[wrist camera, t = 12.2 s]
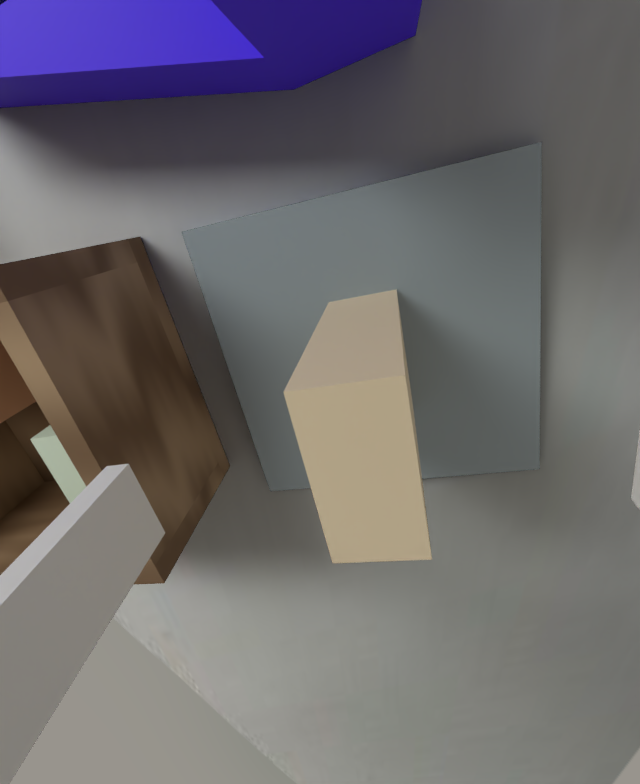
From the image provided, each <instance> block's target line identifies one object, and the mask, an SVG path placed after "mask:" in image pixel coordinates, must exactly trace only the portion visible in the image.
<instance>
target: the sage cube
mask: <svg viewBox="0 0 640 784" xmlns="http://www.w3.org/2000/svg"><path fill="white" fill-rule="evenodd" d="M30 440H31V442H32V443H33V445H34V446H35V448H36V450H37V451H38V453H39V454H40V456H41V458H42V459H43V461H44V463H45V464H46V466H47V467H48V469H49V471H50V472H51V474H52V475H53V477H54V479H55V480H56V482H57V483H58V485H59V487H60V488H61V490H62V491H63V493H64V495H65V496H66V498H67V499H68V501H69V503H71V502H72V501H73V500H74V499H75V498H76V497H77V496H78V495H79V494H80V493H81V492H82V491H83V490H84V489H85V488H86V485H85V483H84V482H83V480H82V478H81V477H80V475H79V473H78V471H77V470H76V468H75V466H74V465H73V463H72V461H71V460H70V458H69V456H68V454H67V453H66V451H65V449H64V448H63V446H62V444H61V442H60V441H59V439H58V437H57V436H56V434H55V432H54V431H53V429H52V427H51V425H49V426H48V427H47V428H45V429H44V430H42V431H41V432H39V433H38V434H37V435H35V436H34V437H32V438H31V439H30Z"/></svg>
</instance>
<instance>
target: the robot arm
mask: <svg viewBox="0 0 640 784" xmlns="http://www.w3.org/2000/svg"><path fill="white" fill-rule="evenodd" d="M631 499H632V501H633V502H634V503H635V504H636V506H637V507H638V508H639V510H640V432H639V440H638V448H637V456H636V463H635V471H634V479H633V487H632V495H631ZM164 534H165V531H164V529H163V527H162V525H161V524H160V522H159V520H158V518H157V516H156V514H155V512H154V510H153V508H152V507H151V505H150V503H149V501H148V499H147V497H146V495H145V493H144V492H143V490H142V488H141V486H140V484H139V482H138V480H137V478H136V477H135V475H134V473H133V471H132V469H131V467H130V465H129V464H121V465H113V466H106V467H105V468H104V469H103V470H102V471H101V472H100V473H99V474H98V475H97V476H96V478H95V479H94V480H93V481H92V482H91V483H90V484H89V485H88V486H87V487H86V488H85V489H84V490H83V491H82V492H81V493H80V494H79V495H78V496H77V497H76V498H75V499H74V500H73V501H72V502H71V503H70V504H69V505H68V506H67V507H66V508H65V509H64V510H63V511H62V512H61V513H60V515H59V516H58V517H57V518H56V519H55V520H54V521H53V522H52V523H51V524H50V525H49V526H48V527H47V528H46V529H45V530H44V531H43V532H42V533H41V534H40V535H39V536H38V537H37V538H36V539H35V540H34V541H33V542H32V543H31V544H30V545H29V546H28V547H27V548H26V549H25V550H24V552H23V553H22V554H21V555H20V556H19V557H18V558H17V559H16V560H15V561H14V562H13V563H12V564H11V565H10V566H9V567H8V568H7V569H6V570H5V571H4V572H3V573H2V574H1V575H0V784H9V783H10V782H11V781H12V779H13V777H14V776H15V774H16V773H17V771H18V769H19V768H20V766H21V764H22V763H23V761H24V760H25V758H26V756H27V755H28V753H29V752H30V750H31V748H32V747H33V745H34V744H35V742H36V740H37V739H38V737H39V736H40V734H41V732H42V731H43V729H44V727H45V726H46V724H47V723H48V721H49V719H50V718H51V716H52V714H53V713H54V711H55V710H56V708H57V707H58V705H59V703H60V702H61V700H62V698H63V697H64V695H65V694H66V692H67V690H68V689H69V687H70V686H71V684H72V682H73V681H74V679H75V677H76V676H77V674H78V673H79V671H80V669H81V668H82V666H83V665H84V663H85V661H86V660H87V658H88V656H89V655H90V653H91V652H92V650H93V649H94V647H95V645H96V644H97V642H98V640H99V639H100V637H101V636H102V634H103V632H104V631H105V629H106V627H107V626H108V624H109V623H110V621H111V620H112V618H113V616H114V615H115V613H116V612H117V610H118V608H119V607H120V605H121V603H122V602H123V600H124V599H125V597H126V595H127V594H128V592H129V591H130V589H131V587H132V586H133V584H134V583H135V581H136V579H137V578H138V576H139V574H140V573H141V571H142V570H143V568H144V566H145V565H146V563H147V562H148V560H149V558H150V557H151V555H152V554H153V552H154V550H155V549H156V547H157V545H158V544H159V542H160V541H161V539H162V537H163V536H164Z"/></svg>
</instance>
